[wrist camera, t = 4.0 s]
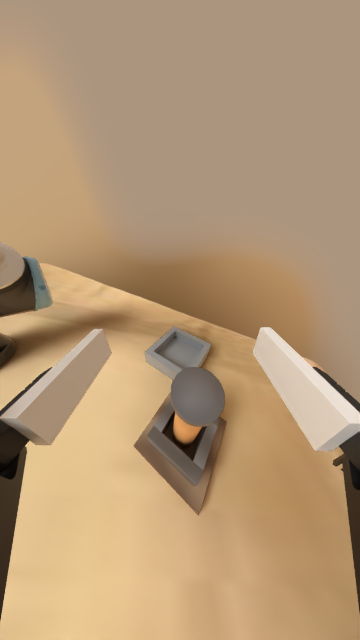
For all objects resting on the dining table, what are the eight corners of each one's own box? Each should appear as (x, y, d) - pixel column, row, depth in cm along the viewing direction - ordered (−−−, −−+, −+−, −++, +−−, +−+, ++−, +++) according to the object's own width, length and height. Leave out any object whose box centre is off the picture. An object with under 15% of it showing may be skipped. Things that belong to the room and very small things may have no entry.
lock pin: (189, 464, 21) (212, 439, 11) (161, 438, 23) (159, 398, 13) (204, 427, 24) (231, 384, 15) (179, 407, 27) (188, 359, 17)
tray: (187, 389, 31) (189, 380, 29) (146, 361, 36) (144, 352, 34) (208, 353, 40) (211, 344, 38) (173, 335, 45) (174, 326, 43)
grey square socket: (197, 514, 18) (204, 519, 15) (134, 447, 23) (130, 439, 19) (224, 424, 26) (233, 414, 23) (174, 388, 31) (176, 376, 28)
